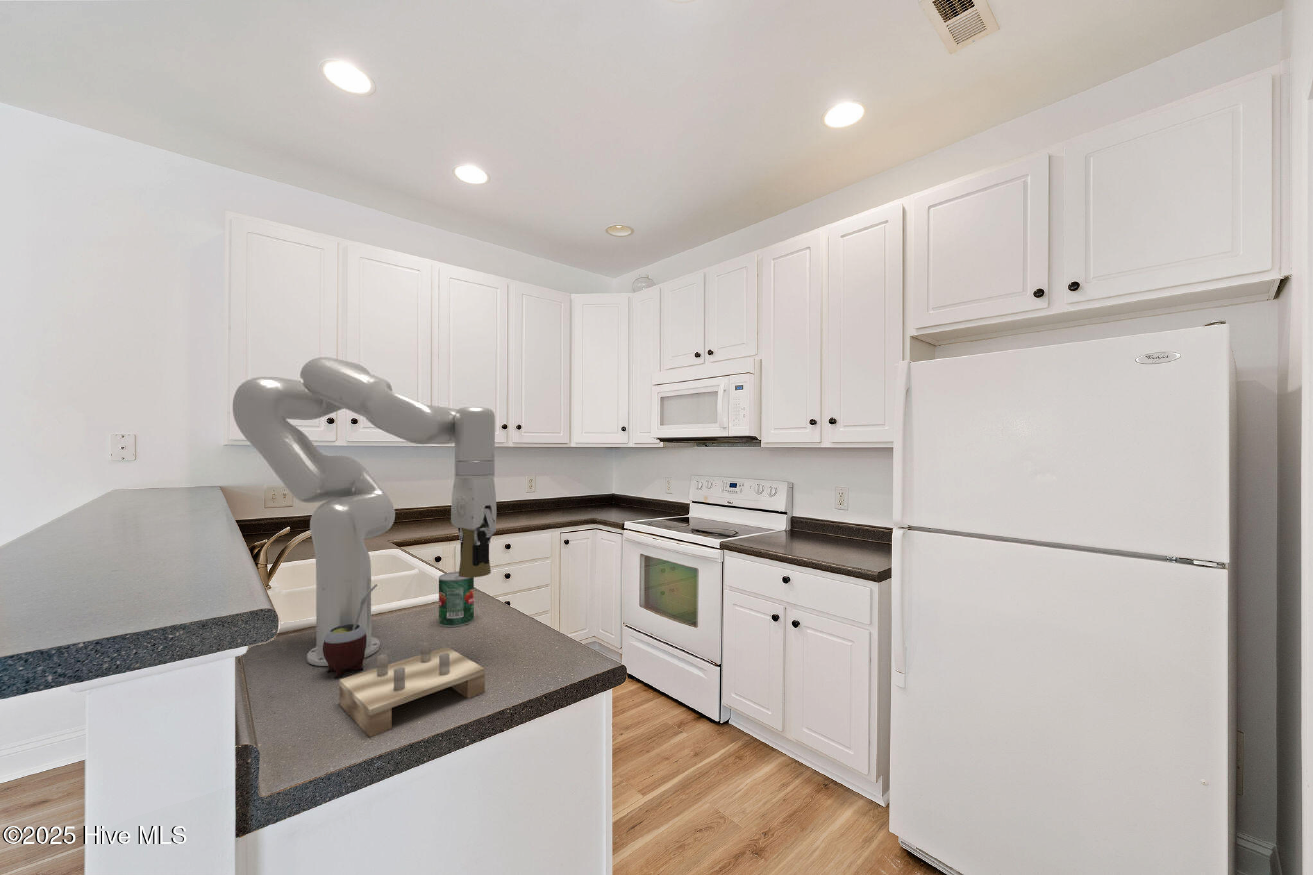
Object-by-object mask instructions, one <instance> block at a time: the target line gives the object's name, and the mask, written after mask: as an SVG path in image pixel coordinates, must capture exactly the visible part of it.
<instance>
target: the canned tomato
mask: <svg viewBox="0 0 1313 875" xmlns="http://www.w3.org/2000/svg"><path fill="white" fill-rule="evenodd" d="M458 574H459V571H452V572H446V573H443V574H441V575H439V576H438V625H439V627H442V626H443V628H456V627H458V626H459V627H464V626H467V625H469V624H471V623H473V620H474V621H475V601H474V600H475V594H474V593H475V583H474V582H475V577H472V578H467V577H460V576H459V575H458ZM466 624H467V625H466Z"/></svg>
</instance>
